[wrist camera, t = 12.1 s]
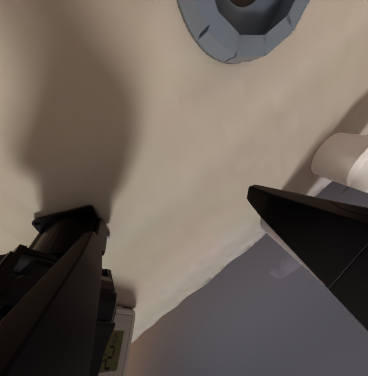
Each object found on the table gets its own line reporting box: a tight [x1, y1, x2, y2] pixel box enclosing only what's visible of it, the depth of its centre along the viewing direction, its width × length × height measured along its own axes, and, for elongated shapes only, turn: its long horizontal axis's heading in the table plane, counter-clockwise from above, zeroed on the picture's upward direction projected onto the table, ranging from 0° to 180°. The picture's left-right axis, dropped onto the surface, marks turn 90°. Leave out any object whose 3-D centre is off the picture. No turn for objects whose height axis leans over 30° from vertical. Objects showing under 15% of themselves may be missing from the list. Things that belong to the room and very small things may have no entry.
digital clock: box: [98, 306, 135, 376], centre depth 25 cm, size 16×9×11 cm, turn 25°
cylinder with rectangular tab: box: [311, 132, 368, 193], centre depth 25 cm, size 9×9×12 cm
